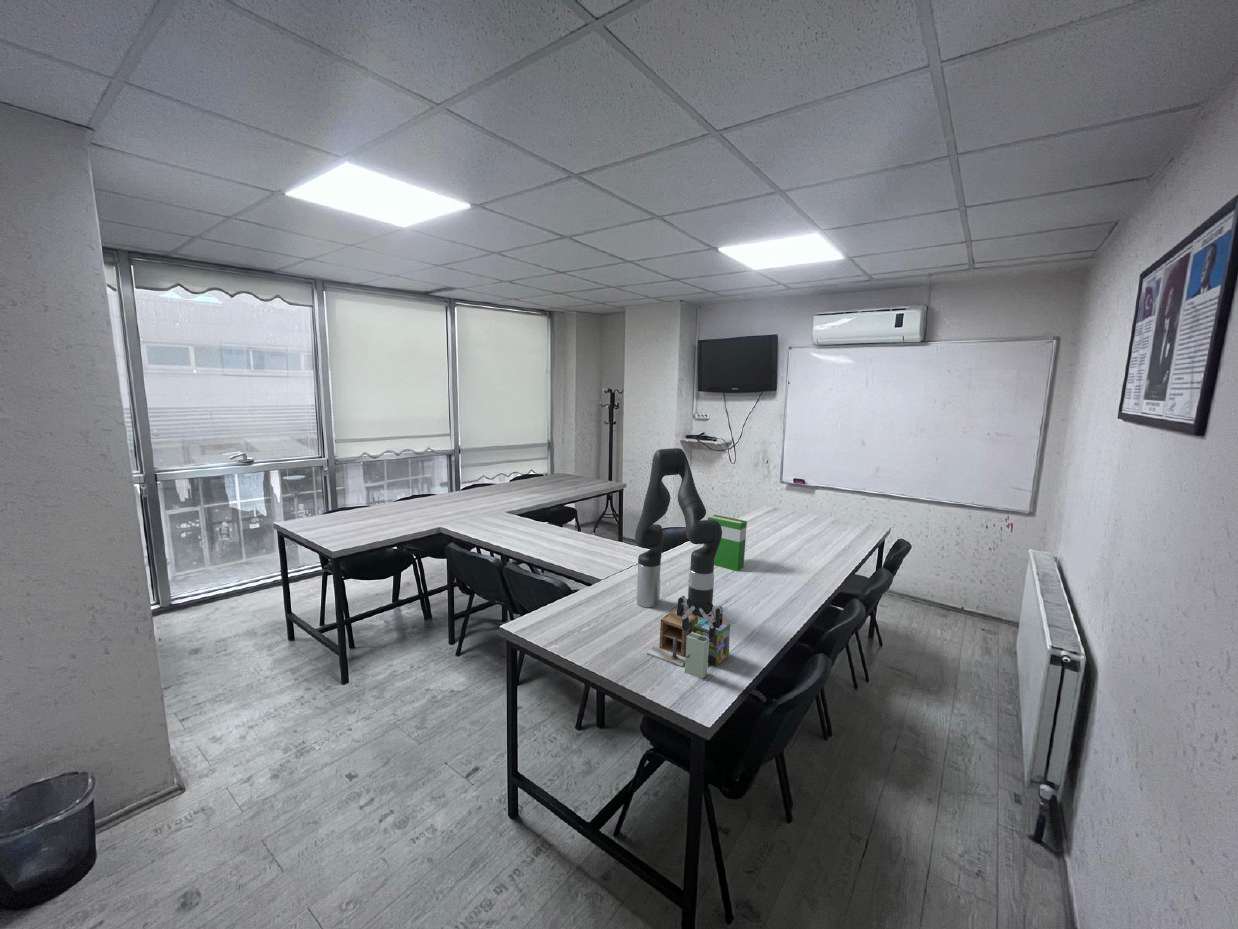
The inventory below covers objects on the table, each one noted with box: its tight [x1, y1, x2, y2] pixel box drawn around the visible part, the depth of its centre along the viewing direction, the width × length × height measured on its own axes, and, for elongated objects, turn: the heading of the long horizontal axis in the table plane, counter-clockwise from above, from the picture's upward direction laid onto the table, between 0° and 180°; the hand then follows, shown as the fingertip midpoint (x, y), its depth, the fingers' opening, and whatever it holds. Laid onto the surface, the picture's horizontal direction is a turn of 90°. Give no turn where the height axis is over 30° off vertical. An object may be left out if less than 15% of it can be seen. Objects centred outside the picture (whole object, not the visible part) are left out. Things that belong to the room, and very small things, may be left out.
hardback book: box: [707, 514, 748, 572], centre depth 248 cm, size 18×7×24 cm, turn 52°
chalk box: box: [693, 615, 731, 667], centre depth 164 cm, size 9×9×15 cm
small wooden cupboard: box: [646, 608, 699, 668], centre depth 167 cm, size 15×13×11 cm
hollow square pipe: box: [684, 632, 709, 679], centre depth 154 cm, size 4×6×12 cm
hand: (698, 634), depth 153 cm, fingers open, 8 cm apart
